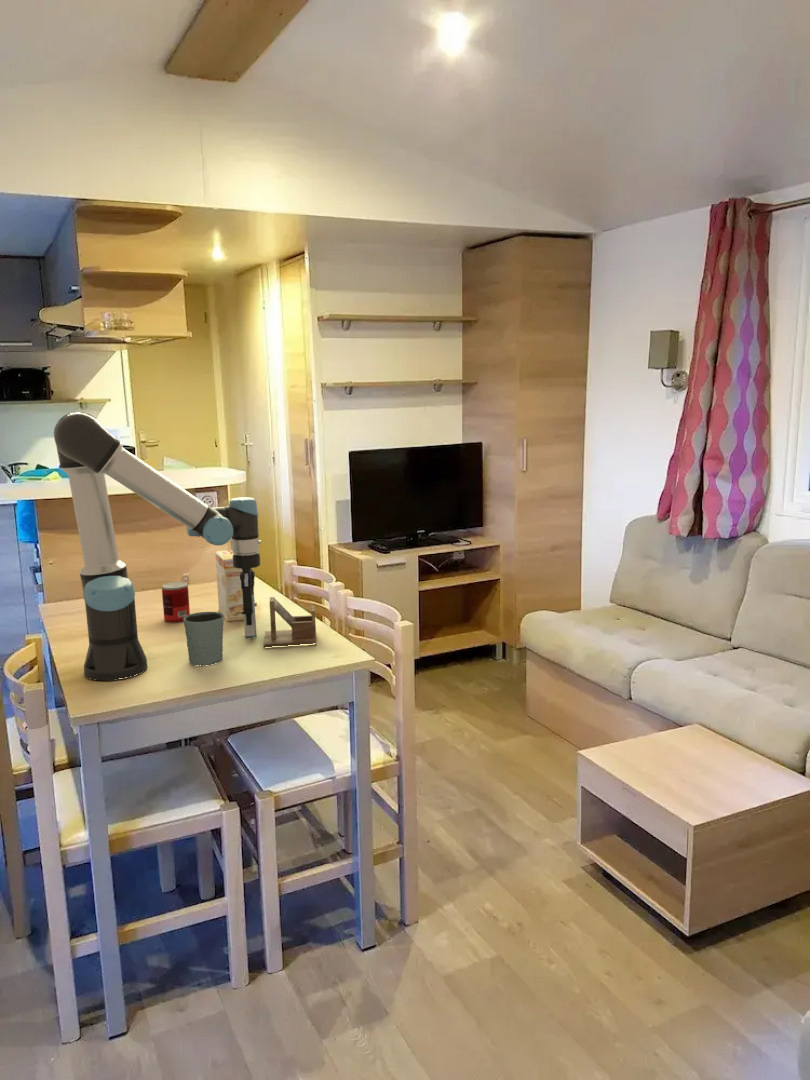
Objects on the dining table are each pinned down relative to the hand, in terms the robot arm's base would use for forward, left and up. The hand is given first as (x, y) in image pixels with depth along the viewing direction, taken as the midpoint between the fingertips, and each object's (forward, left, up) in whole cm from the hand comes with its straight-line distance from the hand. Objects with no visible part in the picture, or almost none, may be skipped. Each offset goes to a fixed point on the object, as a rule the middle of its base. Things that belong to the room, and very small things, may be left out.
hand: (250, 632), depth 232 cm
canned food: (+22, +23, -2) cm, 33 cm away
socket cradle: (-6, -11, -1) cm, 13 cm away
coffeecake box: (+24, +6, -2) cm, 25 cm away
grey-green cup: (-18, +10, -2) cm, 21 cm away
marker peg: (0, 0, -1) cm, 1 cm away
